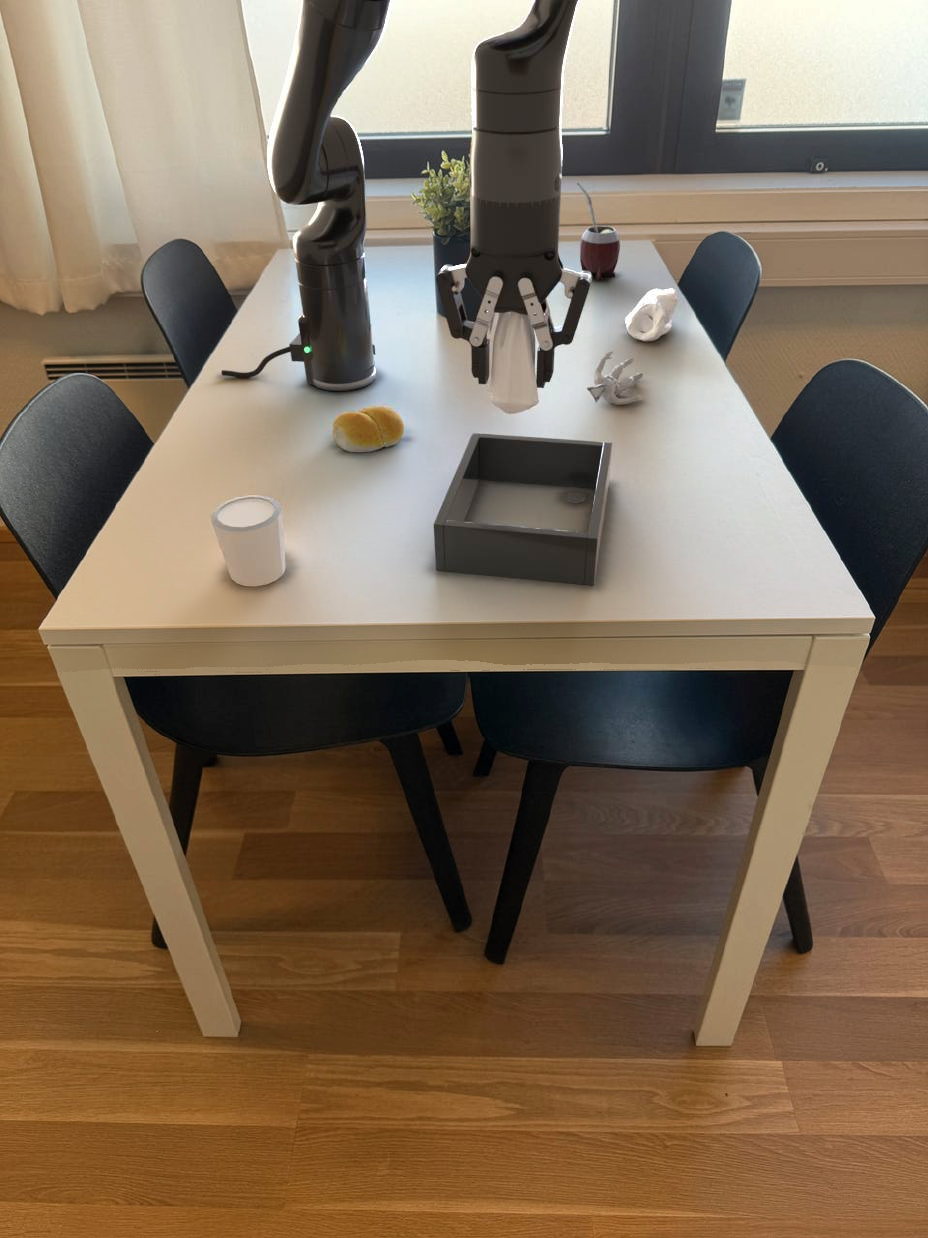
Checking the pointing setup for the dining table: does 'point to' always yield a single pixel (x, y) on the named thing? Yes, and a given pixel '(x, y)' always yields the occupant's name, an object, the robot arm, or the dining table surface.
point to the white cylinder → (251, 539)
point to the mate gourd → (599, 247)
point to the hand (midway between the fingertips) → (512, 381)
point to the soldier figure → (613, 383)
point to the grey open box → (524, 546)
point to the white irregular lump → (652, 315)
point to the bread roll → (368, 429)
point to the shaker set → (512, 362)
